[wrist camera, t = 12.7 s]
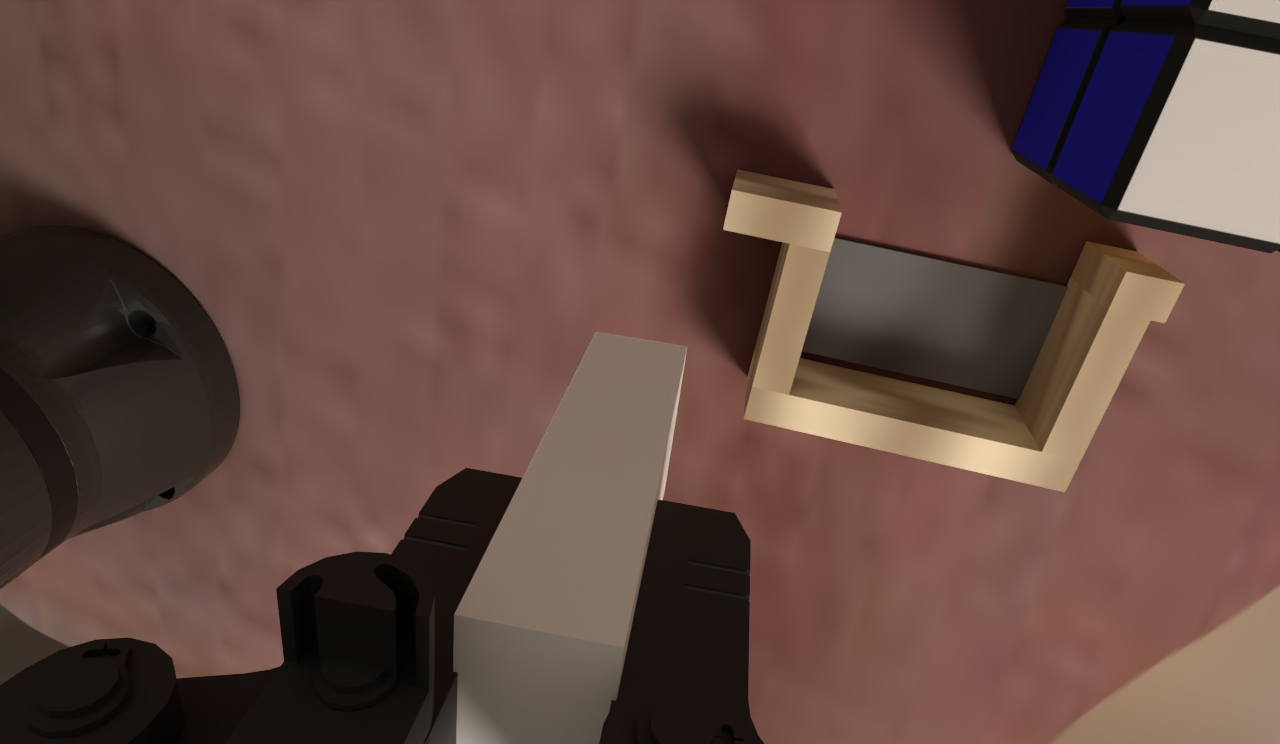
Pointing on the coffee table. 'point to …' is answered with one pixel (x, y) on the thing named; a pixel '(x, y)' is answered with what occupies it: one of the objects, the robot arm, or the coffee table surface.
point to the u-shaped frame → (938, 342)
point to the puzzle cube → (1164, 116)
